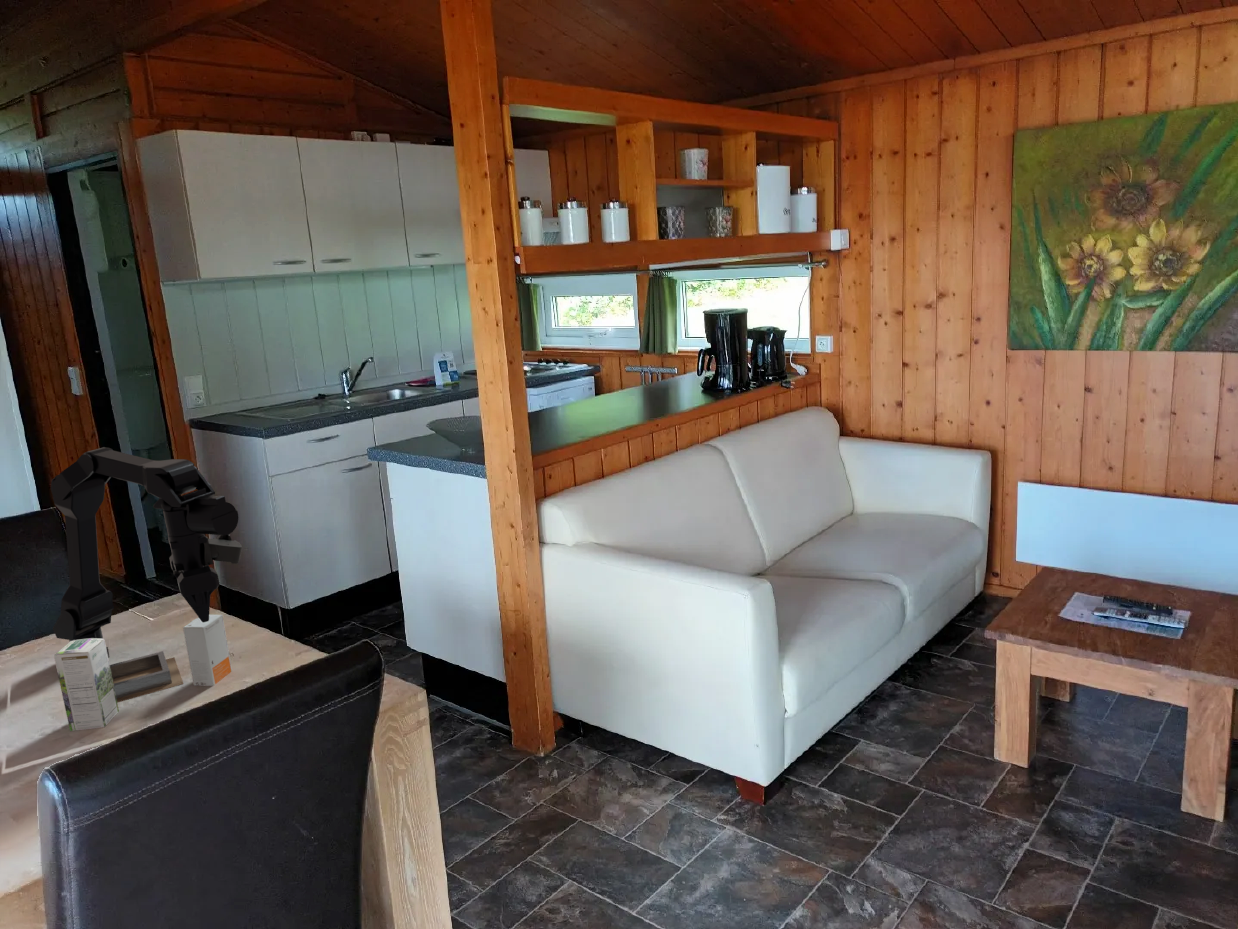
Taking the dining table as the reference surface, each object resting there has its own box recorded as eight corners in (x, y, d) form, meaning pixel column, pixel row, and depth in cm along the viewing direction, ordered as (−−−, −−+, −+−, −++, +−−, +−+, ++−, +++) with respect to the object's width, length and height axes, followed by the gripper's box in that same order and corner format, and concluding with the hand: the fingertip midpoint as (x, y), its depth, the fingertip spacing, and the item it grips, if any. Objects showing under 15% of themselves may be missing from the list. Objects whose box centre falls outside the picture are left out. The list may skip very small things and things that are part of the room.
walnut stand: (93, 681, 173) (93, 678, 173) (174, 660, 180) (174, 657, 180) (97, 711, 161) (97, 708, 161) (184, 686, 168) (183, 683, 168)
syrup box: (86, 717, 159) (68, 639, 156) (121, 713, 160) (104, 636, 156) (70, 734, 154) (51, 654, 150) (106, 730, 154) (88, 651, 151)
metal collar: (104, 679, 172) (101, 667, 172) (165, 663, 177) (163, 651, 177) (107, 701, 163) (104, 688, 163) (172, 683, 169) (169, 670, 168)
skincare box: (214, 689, 166) (202, 627, 164) (193, 688, 167) (181, 627, 164) (234, 673, 172) (223, 614, 169) (214, 672, 173) (202, 613, 170)
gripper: (242, 533, 159) (257, 617, 163) (226, 511, 175) (241, 588, 178) (171, 548, 154) (189, 635, 157) (162, 524, 169) (178, 603, 173)
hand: (202, 613), depth 167 cm, fingers open, 9 cm apart
